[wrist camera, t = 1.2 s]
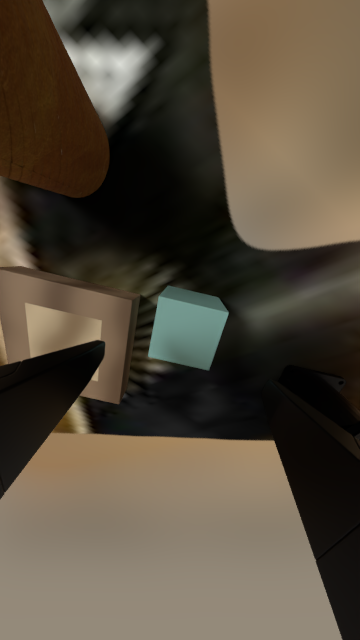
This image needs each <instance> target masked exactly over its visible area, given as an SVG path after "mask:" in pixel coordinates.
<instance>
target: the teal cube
mask: <svg viewBox="0 0 360 640" xmlns="http://www.w3.org/2000/svg"><path fill="white" fill-rule="evenodd" d="M228 314H229V312H228V311H227V309H226V308H225V306H224V305H223V303H222V302H221V301H220V299H219V298H218V297H215V296H210V295H206V294H202V293H198V292H193V291H189V290H185V289H181V288H177V287H172V286H167V287H166V289H165V290H164V291H163V292H162V293H161V294H160V296H159V299H158V304H157V310H156V315H155V321H154V326H153V332H152V337H151V343H150V348H149V353H148V357H152V358H156V359H161V360H165V361H170V362H174V363H178V364H183V365H187V366H191V367H196V368H200V369H205V370H209V369H210V366H211V363H212V360H213V357H214V354H215V351H216V349H217V346H218V343H219V340H220V337H221V334H222V331H223V328H224V325H225V323H226V320H227V317H228Z"/></svg>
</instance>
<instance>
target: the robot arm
mask: <svg viewBox="0 0 360 640" xmlns="http://www.w3.org/2000/svg"><path fill="white" fill-rule="evenodd" d="M104 356H105V342H104V341H101V340H95V341H91V342H87V343H84V344H80V345H76V346H73V347H69V348H65V349H62V350H58V351H54V352H51V353H47V354H44V355H40V356H36V357H33V358H29V359H25V360H22V362H21V361H18V362H14V363H11V364H7V365H3V366H0V499H1V498H2V496H3V495H4V492H6V491H7V490H8V488H9V487H10V486H11V484H12V483H13V482H14V480H15V479H16V478H17V477H18V475H19V474H20V473H21V471H22V470H23V469H24V467H25V466H26V465H27V463H28V462H29V461H30V459H31V458H32V457H33V455H34V454H35V453H36V452H37V450H38V449H39V448H40V446H41V445H42V444H43V442H44V441H45V440H46V439H47V437H48V436H49V435H50V433H51V432H52V431H53V429H54V428H55V427H56V425H57V424H58V423H59V421H60V420H61V419H62V418H63V416H64V415H65V414H66V412H67V411H68V410H69V408H70V407H71V406H72V404H73V403H74V402H75V400H76V399H77V398H78V397H79V395H80V394H81V393H82V391H83V390H84V389H85V387H86V386H87V385H88V383H89V382H90V380H91V379H92V377H93V375H94V374H95V372H96V370H97V369H98V367H99V365H100V364H101V362H102V360H103V359H104ZM290 370H291V371H290ZM345 384H346V380H345V379H343V378H342V377H340V376H335V375H331V374H327V373H322V372H318V371H314V370H309V369H305V368H301V367H296V366H292V365H289V366H287V367H286V368H285V370H284V371H283V373H282V375H281V377H280V379H279V381H278V382H277V381H274V380H268V381H267V382H266V384H265V386H264V388H263V390H262V399H263V403H264V407H265V411H266V415H267V419H268V423H269V426H270V429H271V432H272V435H273V438H274V441H275V444H276V447H277V450H278V453H279V455H280V459H281V461H282V464H283V467H284V470H285V473H286V476H287V479H288V482H289V485H290V488H291V491H292V493H293V496H294V499H295V502H296V505H297V508H298V511H299V513H300V517H301V520H302V523H303V525H304V528H305V531H306V534H307V537H308V540H309V543H310V545H311V549H312V551H313V554H314V557H315V559H316V564H317V567H318V570H319V572H320V575H321V578H322V581H323V584H324V587H325V590H326V593H327V596H328V599H329V602H330V604H331V607H332V610H333V613H334V616H335V619H336V622H337V625H338V628H339V631H340V634H341V636H342V639H343V640H360V411H359V410H358V409H357V408H356V407H355V406H354V405H352V404H351V403H350V402H349V401H348V400H347V399H346V398H345V397H344V396H342V395H341V394H340V393H339V392H340V391H341V389H342V388H343V387H344V385H345Z"/></svg>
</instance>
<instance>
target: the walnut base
mask: <svg viewBox="0 0 360 640" xmlns="http://www.w3.org/2000/svg"><path fill="white" fill-rule="evenodd" d="M139 302H140V294H136V293H132V292H127V291H123V290H119V289H115V288H110V287H106V286H102V285H98V284H94V283H89V282H85V281H81V280H77V279H72V278H68V277H64V276H60V275H55V274H51V273H47V272H43V271H38V270H34V269H30V268H26V267H21V266H16V267H0V318H1V324H2V330H3V336H4V342H5V348H6V354H7V360H8V364H11V363H14V362H18V361H21V362H22V360H25V359H29V358H33V357H36V356H40V355H44V354H47V353H51V352H54V351H58V350H62V349H65V348H69V347H73V346H76V345H80V344H84V343H87V342H91V341H95V340H101V341H104V342H105V356H104V359H103V360H102V362H101V364H100V365H99V367H98V369H97V370H96V372H95V374H94V375H93V377H92V379H91V380H90V382H89V383H88V385H87V386H86V387H85V389H84V390H83V391H82V393H81V394H80V396H84V397H89V398H93V399H98V400H102V401H107V402H111V403H116V404H119V403H120V401H121V399H122V397H123V395H124V393H125V391H126V389H127V385H128V378H129V371H130V364H131V357H132V350H133V343H134V336H135V330H136V323H137V316H138V309H139Z"/></svg>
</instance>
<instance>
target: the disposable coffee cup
mask: <svg viewBox="0 0 360 640" xmlns="http://www.w3.org/2000/svg"><path fill="white" fill-rule="evenodd" d="M108 167H109V144H108V138H107V135H106V132H105V129H104V127H103V125H102V123H101V121H100V119H99V117H98V115H97V113H96V111H95V109H94V107H93V105H92V102H91V100H90V98H89V96H88V94H87V92H86V90H85V88H84V86H83V84H82V82H81V80H80V78H79V76H78V74H77V71H76V69H75V67H74V65H73V63H72V61H71V59H70V57H69V55H68V53H67V51H66V49H65V47H64V45H63V43H62V41H61V39H60V37H59V34H58V32H57V30H56V28H55V26H54V24H53V22H52V20H51V18H50V15H49V13H48V11H47V9H46V7H45V5H44V3H43V1H42V0H0V176H3V177H7V178H9V179H13V180H18V181H20V182H23V183H27V184H30V185H33V186H36V187H40V188H43V189H46V190H50V191H53V192H57V193H60V194H63V195H66V196H69V197H74V198H79V197H85V196H89V195H90V194H92V193H93V192H95V191H96V190H97V189H98V188H99V187H100V186H101V184H102V183H103V181H104V179H105V177H106V174H107V170H108Z"/></svg>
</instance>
